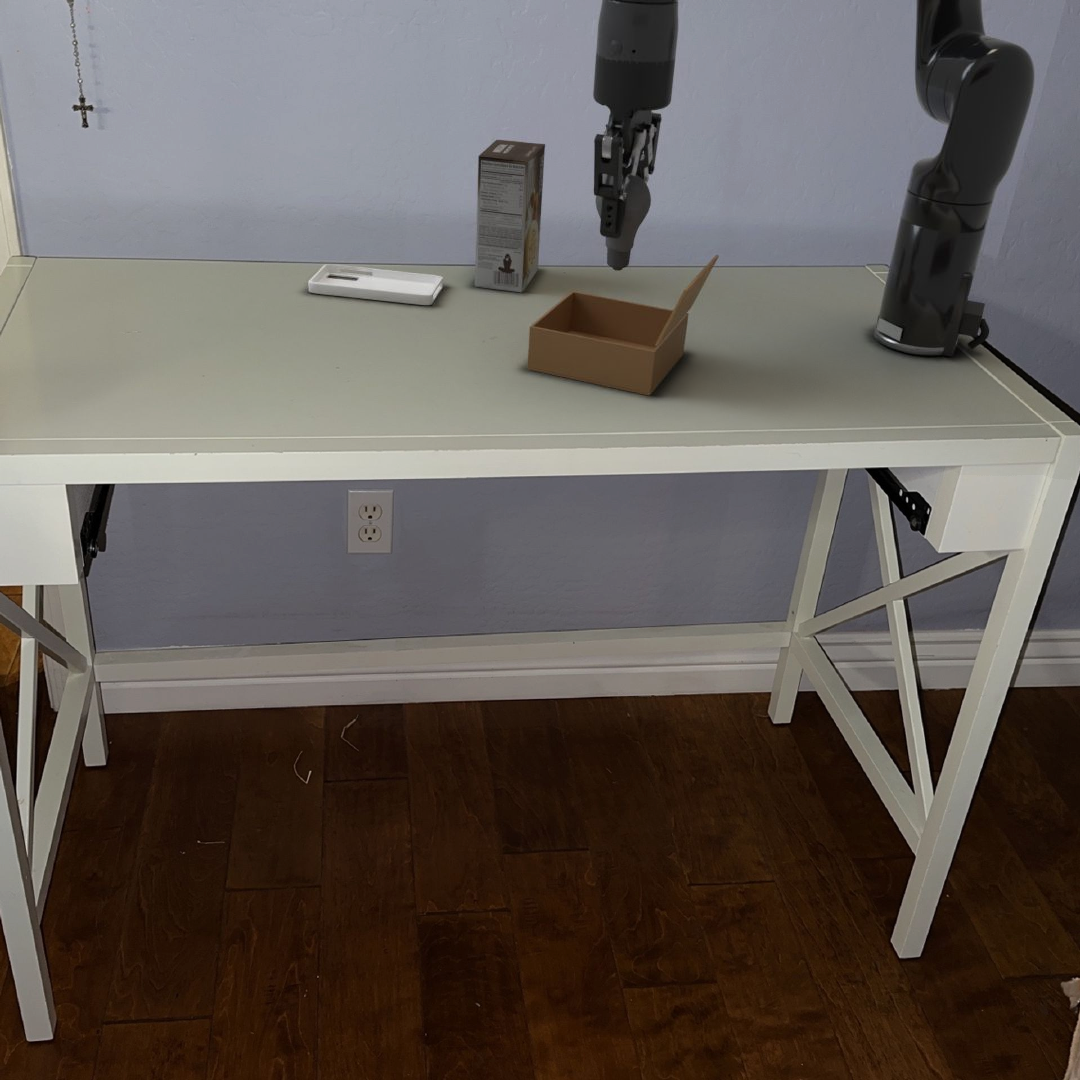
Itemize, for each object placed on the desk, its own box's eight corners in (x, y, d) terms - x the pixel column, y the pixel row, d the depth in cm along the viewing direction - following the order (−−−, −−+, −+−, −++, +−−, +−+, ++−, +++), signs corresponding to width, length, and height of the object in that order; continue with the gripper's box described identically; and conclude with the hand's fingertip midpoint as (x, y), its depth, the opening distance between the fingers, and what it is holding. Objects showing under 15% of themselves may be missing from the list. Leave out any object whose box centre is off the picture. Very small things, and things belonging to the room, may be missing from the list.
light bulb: (615, 282, 117) (623, 182, 112) (579, 267, 121) (586, 169, 116) (655, 273, 121) (665, 175, 115) (619, 258, 124) (627, 162, 119)
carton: (683, 354, 129) (688, 313, 127) (649, 395, 119) (655, 352, 117) (569, 331, 133) (572, 290, 131) (527, 369, 123) (529, 326, 120)
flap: (688, 307, 126) (690, 308, 126) (654, 345, 116) (657, 346, 116) (716, 254, 122) (719, 255, 122) (684, 289, 112) (687, 290, 112)
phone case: (307, 293, 138) (430, 306, 137) (306, 282, 138) (430, 295, 136) (325, 273, 145) (443, 286, 143) (325, 262, 144) (444, 275, 143)
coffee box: (490, 264, 151) (495, 137, 143) (538, 270, 150) (546, 143, 142) (473, 287, 144) (477, 154, 135) (523, 293, 143) (531, 160, 134)
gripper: (651, 67, 103) (634, 254, 112) (694, 45, 114) (675, 216, 123) (572, 57, 105) (561, 241, 114) (622, 37, 117) (608, 206, 125)
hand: (620, 227), depth 118 cm, fingers closed on light bulb, 5 cm apart
